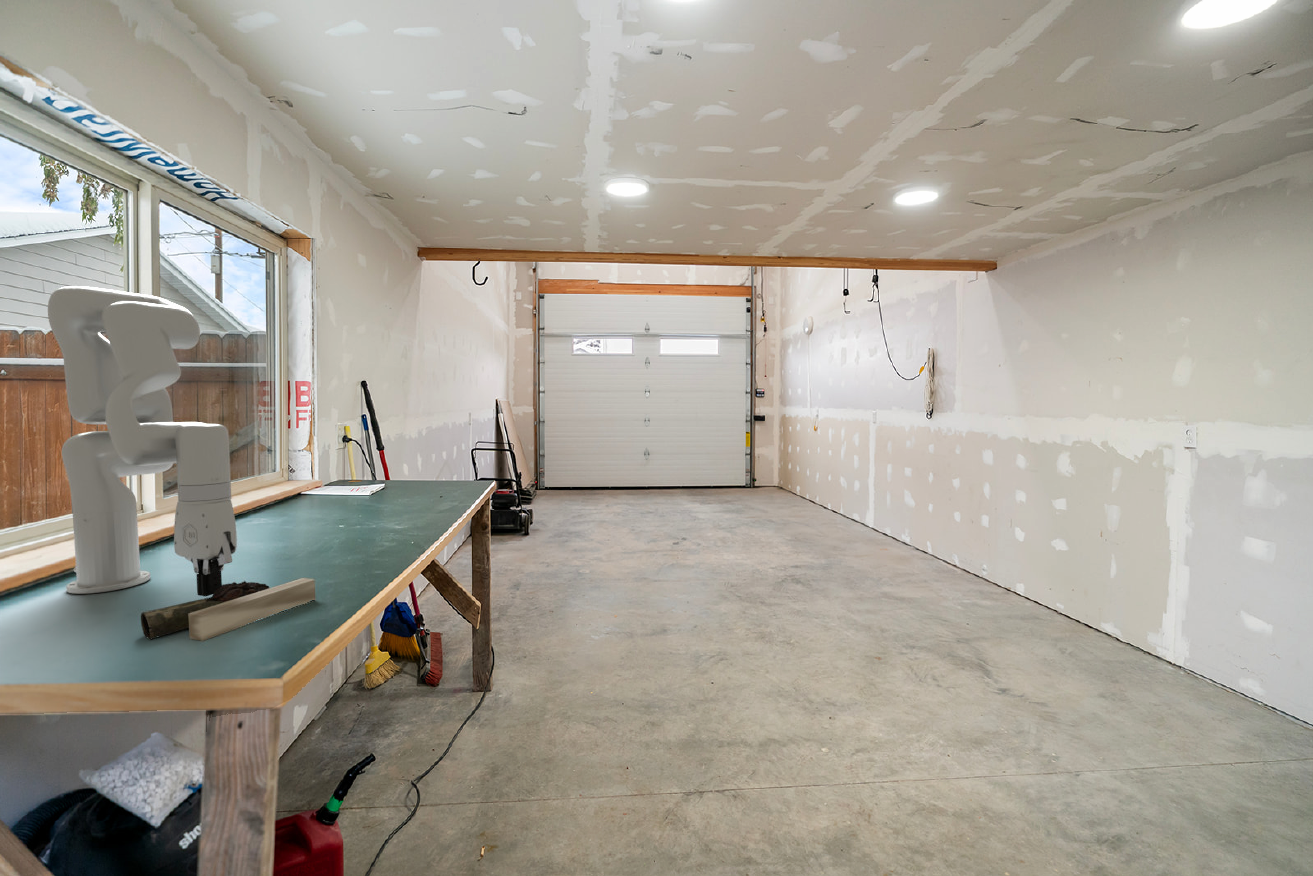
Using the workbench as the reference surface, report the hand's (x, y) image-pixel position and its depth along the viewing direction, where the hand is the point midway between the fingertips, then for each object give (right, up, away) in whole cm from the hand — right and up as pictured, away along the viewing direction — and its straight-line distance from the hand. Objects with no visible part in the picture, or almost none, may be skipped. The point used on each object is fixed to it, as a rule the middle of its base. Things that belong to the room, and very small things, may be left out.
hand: (209, 593), depth 105 cm
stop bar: (+11, -3, -4) cm, 12 cm away
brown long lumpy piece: (+4, -4, -5) cm, 7 cm away
